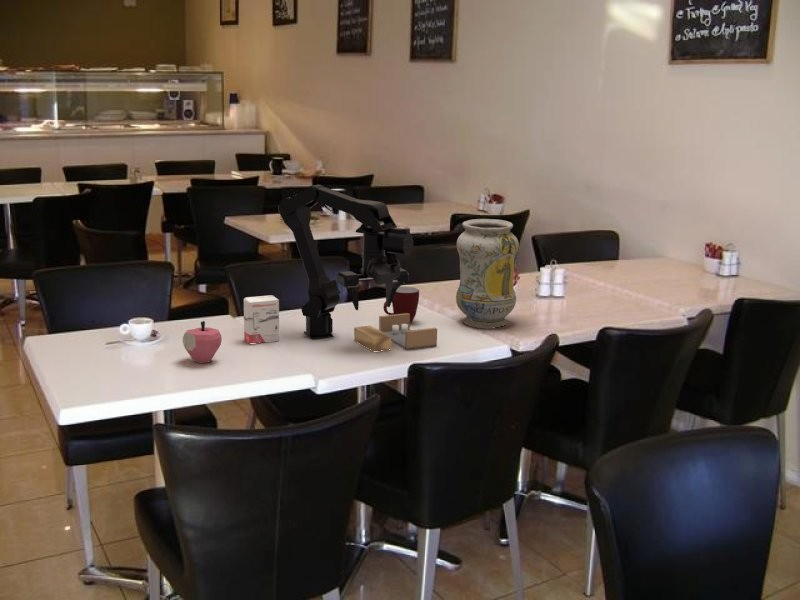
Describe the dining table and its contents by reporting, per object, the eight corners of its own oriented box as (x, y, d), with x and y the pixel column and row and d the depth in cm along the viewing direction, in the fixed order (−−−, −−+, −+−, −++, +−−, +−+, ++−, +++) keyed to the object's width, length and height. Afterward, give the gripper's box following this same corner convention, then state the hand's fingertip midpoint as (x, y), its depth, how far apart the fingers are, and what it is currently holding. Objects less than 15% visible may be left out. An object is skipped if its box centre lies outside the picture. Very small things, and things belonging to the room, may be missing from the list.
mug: (390, 328, 258) (391, 294, 255) (378, 321, 265) (379, 288, 262) (423, 324, 262) (424, 291, 260) (410, 318, 269) (411, 285, 267)
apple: (177, 360, 225) (176, 321, 222) (207, 353, 230) (206, 316, 228) (198, 369, 218) (197, 330, 216) (228, 362, 224) (227, 323, 221)
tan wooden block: (373, 353, 235) (374, 338, 234) (354, 341, 245) (354, 327, 244) (390, 351, 237) (391, 336, 236) (370, 339, 248) (370, 325, 247)
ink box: (249, 345, 239) (248, 301, 236) (243, 340, 243) (242, 297, 240) (280, 341, 243) (279, 298, 240) (273, 336, 247) (273, 294, 244)
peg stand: (406, 350, 237) (407, 332, 236) (378, 333, 252) (379, 316, 251) (436, 346, 241) (437, 328, 240) (407, 330, 256) (407, 313, 255)
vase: (483, 335, 253) (488, 229, 246) (441, 321, 267) (444, 220, 259) (527, 325, 265) (533, 224, 257) (484, 312, 278) (488, 216, 271)
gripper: (353, 258, 224) (352, 319, 228) (419, 254, 232) (417, 312, 236) (336, 250, 234) (335, 308, 237) (400, 246, 242) (398, 302, 246)
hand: (372, 308), depth 239 cm, fingers open, 9 cm apart
